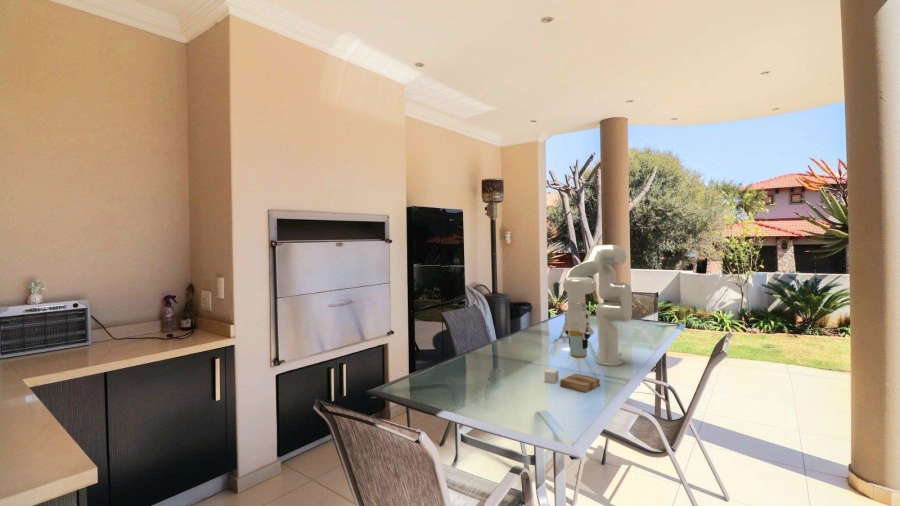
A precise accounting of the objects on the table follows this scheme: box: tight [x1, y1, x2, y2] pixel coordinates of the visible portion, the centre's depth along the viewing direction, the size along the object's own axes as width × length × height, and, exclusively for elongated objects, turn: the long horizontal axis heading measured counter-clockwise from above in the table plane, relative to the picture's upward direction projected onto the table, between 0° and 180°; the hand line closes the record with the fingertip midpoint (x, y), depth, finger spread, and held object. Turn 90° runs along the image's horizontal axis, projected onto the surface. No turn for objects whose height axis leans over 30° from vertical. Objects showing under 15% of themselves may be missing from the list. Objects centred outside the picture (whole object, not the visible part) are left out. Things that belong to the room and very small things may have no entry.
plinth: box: [559, 373, 601, 394], centre depth 183 cm, size 12×12×3 cm
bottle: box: [569, 323, 588, 359], centre depth 182 cm, size 7×7×15 cm
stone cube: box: [543, 368, 559, 384], centre depth 191 cm, size 5×5×5 cm
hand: (578, 346), depth 182 cm, fingers closed on bottle, 5 cm apart
